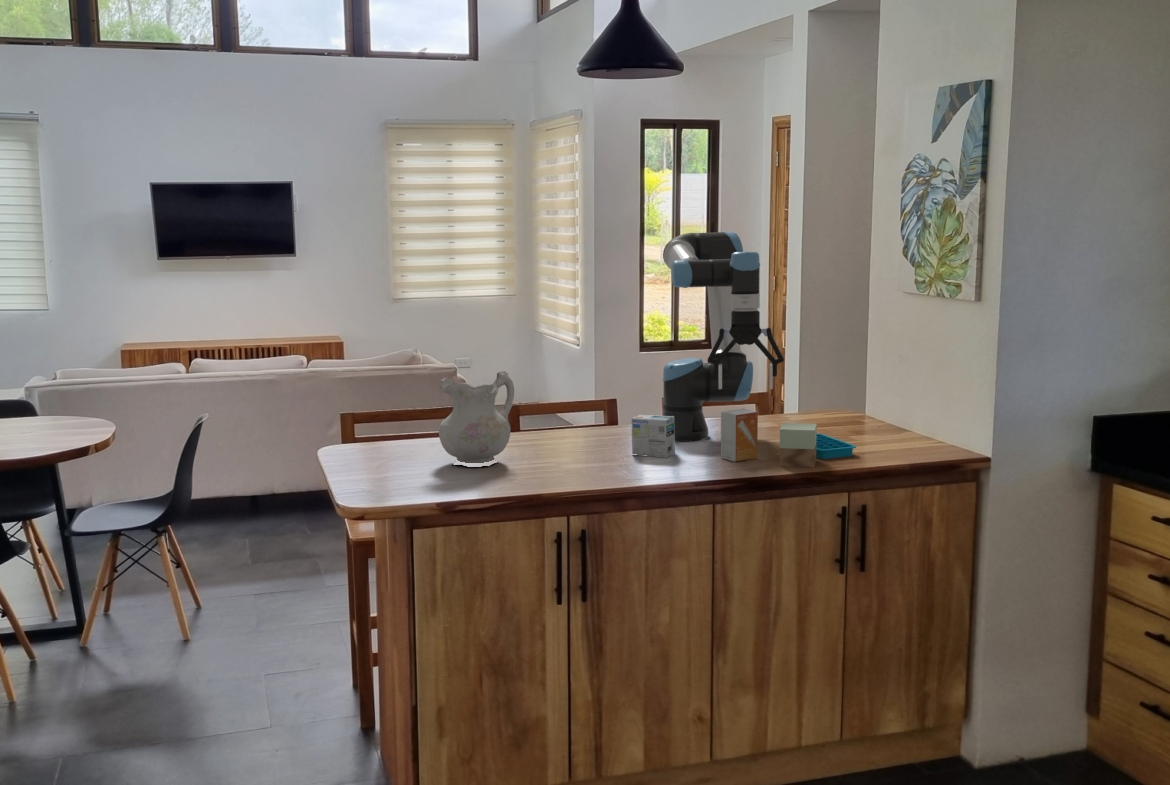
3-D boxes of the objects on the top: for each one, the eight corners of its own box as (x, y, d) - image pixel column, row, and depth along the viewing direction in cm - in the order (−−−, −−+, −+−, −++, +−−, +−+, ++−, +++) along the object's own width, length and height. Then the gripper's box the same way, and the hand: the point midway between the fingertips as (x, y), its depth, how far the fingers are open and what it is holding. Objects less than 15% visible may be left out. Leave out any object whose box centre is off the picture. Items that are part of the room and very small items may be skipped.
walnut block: (779, 466, 285) (779, 448, 284) (782, 459, 294) (782, 441, 293) (814, 467, 283) (814, 449, 282) (816, 460, 291) (816, 442, 291)
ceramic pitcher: (489, 455, 311) (481, 369, 308) (534, 459, 297) (526, 369, 294) (428, 469, 296) (419, 379, 293) (472, 474, 282) (463, 380, 279)
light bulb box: (675, 453, 303) (675, 415, 301) (667, 458, 297) (666, 419, 295) (640, 450, 308) (639, 413, 306) (631, 455, 302) (630, 417, 300)
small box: (735, 462, 290) (735, 414, 288) (720, 458, 296) (720, 411, 294) (758, 458, 295) (758, 411, 293) (742, 454, 300) (742, 408, 298)
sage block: (779, 448, 284) (779, 429, 284) (782, 441, 293) (782, 422, 292) (814, 449, 282) (814, 430, 281) (816, 442, 291) (816, 423, 290)
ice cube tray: (820, 461, 291) (820, 450, 291) (784, 446, 310) (784, 436, 309) (858, 457, 295) (858, 446, 294) (820, 443, 313) (820, 433, 313)
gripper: (697, 311, 288) (698, 390, 291) (792, 310, 283) (792, 390, 286) (700, 309, 295) (700, 386, 298) (793, 308, 290) (792, 386, 293)
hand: (745, 388), depth 292 cm, fingers open, 13 cm apart
